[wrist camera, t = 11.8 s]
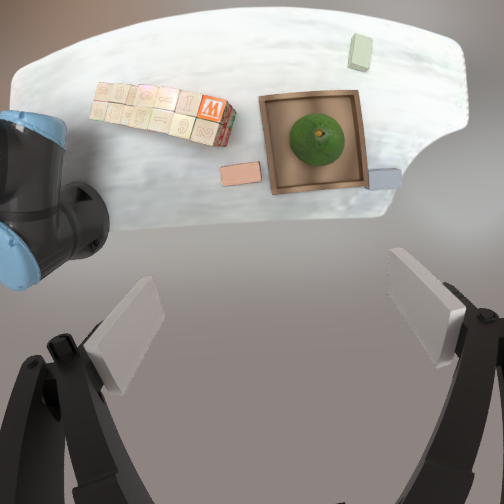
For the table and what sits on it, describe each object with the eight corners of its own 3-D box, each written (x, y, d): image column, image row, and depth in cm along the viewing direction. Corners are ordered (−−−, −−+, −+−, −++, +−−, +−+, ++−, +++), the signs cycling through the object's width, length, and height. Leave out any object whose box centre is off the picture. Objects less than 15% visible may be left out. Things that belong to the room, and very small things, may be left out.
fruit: (319, 108, 42) (334, 95, 31) (345, 149, 44) (368, 150, 33) (278, 132, 44) (280, 127, 33) (305, 173, 46) (316, 181, 35)
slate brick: (364, 187, 47) (369, 189, 44) (362, 170, 46) (368, 171, 43) (395, 185, 46) (402, 187, 43) (394, 168, 45) (401, 169, 42)
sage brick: (363, 72, 40) (369, 68, 37) (347, 67, 40) (351, 63, 37) (367, 43, 38) (372, 38, 35) (351, 38, 38) (355, 33, 35)
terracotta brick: (225, 184, 48) (223, 186, 45) (223, 166, 47) (220, 167, 44) (261, 179, 48) (261, 181, 45) (259, 161, 47) (258, 162, 44)
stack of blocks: (115, 121, 45) (76, 118, 34) (124, 89, 43) (87, 77, 31) (226, 147, 46) (212, 146, 35) (238, 111, 44) (227, 99, 32)
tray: (272, 192, 48) (272, 194, 45) (259, 99, 43) (258, 96, 40) (363, 183, 46) (368, 185, 44) (353, 93, 41) (358, 90, 38)
